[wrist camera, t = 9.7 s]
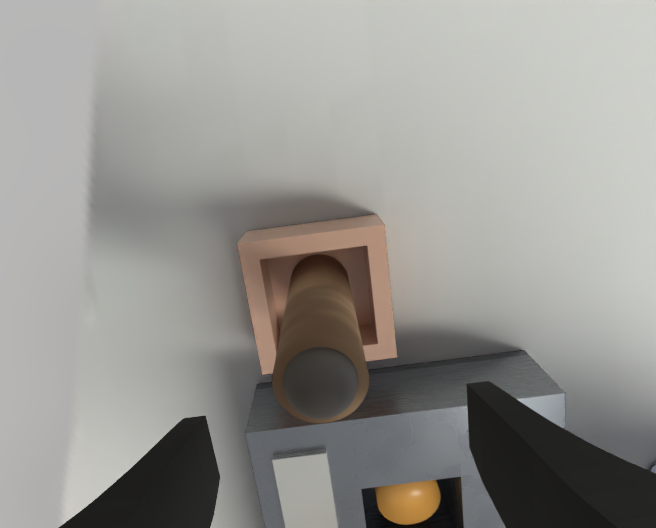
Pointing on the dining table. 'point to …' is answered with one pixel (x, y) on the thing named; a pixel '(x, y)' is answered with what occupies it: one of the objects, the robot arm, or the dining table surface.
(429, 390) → the panel
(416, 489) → the button
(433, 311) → the dining table surface
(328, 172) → the dining table surface
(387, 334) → the holder
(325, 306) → the brown wooden cylinder
